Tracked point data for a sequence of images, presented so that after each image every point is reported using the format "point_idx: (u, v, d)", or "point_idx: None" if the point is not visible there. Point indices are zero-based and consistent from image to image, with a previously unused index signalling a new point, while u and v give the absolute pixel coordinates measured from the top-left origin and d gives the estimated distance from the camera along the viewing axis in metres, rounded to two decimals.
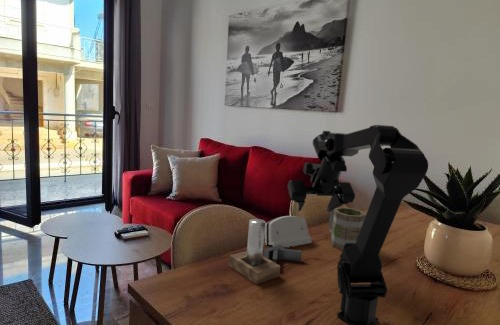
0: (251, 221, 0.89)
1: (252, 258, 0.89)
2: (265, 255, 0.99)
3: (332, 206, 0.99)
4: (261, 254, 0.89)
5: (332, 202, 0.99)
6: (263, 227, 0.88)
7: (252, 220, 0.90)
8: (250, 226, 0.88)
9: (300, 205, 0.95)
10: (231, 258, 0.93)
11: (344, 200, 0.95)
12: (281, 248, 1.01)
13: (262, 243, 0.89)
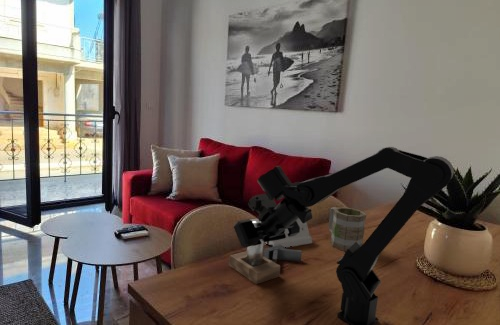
0: None
1: (252, 258, 0.89)
2: (265, 255, 0.99)
3: (267, 239, 0.90)
4: (261, 254, 0.89)
5: None
6: None
7: (252, 220, 0.90)
8: None
9: None
10: (231, 258, 0.93)
11: (290, 235, 0.89)
12: (281, 248, 1.01)
13: (262, 243, 0.89)
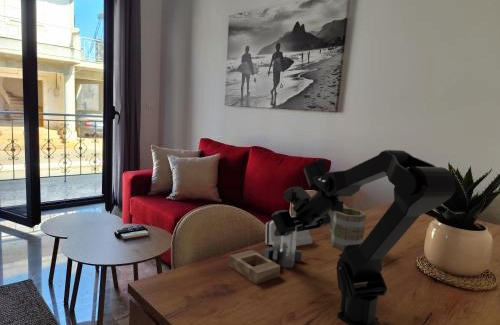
0: None
1: (286, 252, 0.94)
2: (265, 255, 0.99)
3: (304, 228, 0.97)
4: (294, 248, 0.95)
5: None
6: None
7: None
8: None
9: None
10: (231, 258, 0.93)
11: (321, 225, 0.94)
12: None
13: (295, 238, 0.95)
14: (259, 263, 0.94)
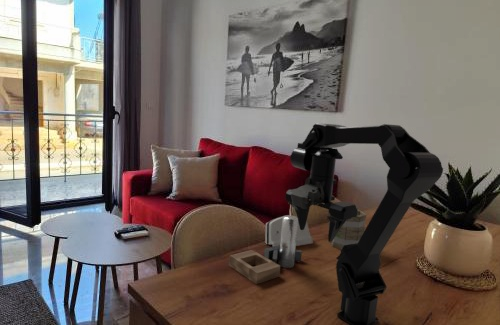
0: (284, 217, 0.95)
1: (286, 252, 0.94)
2: (265, 255, 0.99)
3: (306, 216, 0.89)
4: (294, 248, 0.95)
5: (303, 214, 0.88)
6: (296, 223, 0.94)
7: (285, 216, 0.96)
8: (284, 222, 0.94)
9: None
10: (231, 258, 0.93)
11: None
12: None
13: (295, 238, 0.95)
14: (259, 263, 0.94)
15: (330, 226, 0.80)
